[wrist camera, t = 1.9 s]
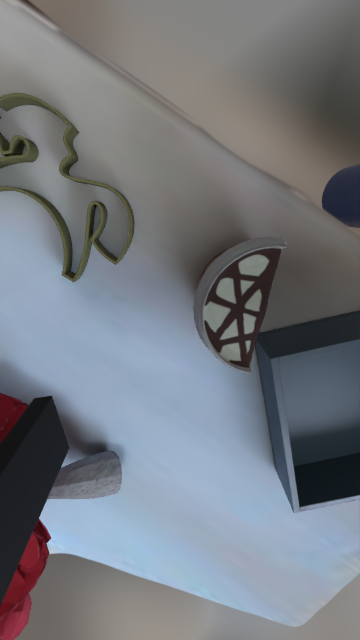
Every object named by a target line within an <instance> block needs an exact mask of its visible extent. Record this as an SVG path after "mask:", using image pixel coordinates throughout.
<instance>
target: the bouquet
mask: <svg viewBox="0 0 360 640" xmlns="http://www.w3.org/2000/svg"><path fill="white" fill-rule="evenodd" d="M27 407H28V405H27V404H26V403H23V402H22V401H21V400H19V399H16V398H13V397H10V396H7V395H4V394H2V393H0V444H1V442H2V441H3V440H4V438H5V437H6V436H7V434H8V433H9V431H10V430H11V429H12V427H13V426H14V425H15V423H16V422H17V421H18V419H19V418H20V417H21V415H22V414H23V413H24V411H25V410H26V409H27ZM121 480H122V472H121V464H120V461H119V458H118V456H117V454H116V453H115V452H114V451H107V452H101V453H97V454H94V455H91V456H88V457H86V458H83V459H81V460H78V461H76V462H74V463H71V464H69V465H67V466H65V467H63V468H60V470H59V473H58V475H57V477H56V480H55V482H54V484H53V487H52V489H51V491H50V493H49V496H48V498H47V499H88V498H98V497H104V496H107V495H111V494H114V493H117V492H118V491H119V489H120V486H121ZM50 539H51V536H50V534H49V532H48V530H47V529H46V527H45V526H44V525H43V523H42V522H41V521H40V519H38V521H37V523H36V526H35V528H34V530H33V533H32V535H31V537H30V540H29V542H28V544H27V546H26V549H25V551H24V553H23V556H22V558H21V560H20V563H19V565H18V567H17V569H16V572H15V574H14V576H13V579H12V581H11V583H10V586H9V588H8V590H7V592H6V595H5V597H4V599H3V602H2V604H1V606H0V640H14V639H15V638H16V637H18V636H19V635H20V633H21V631H22V630H23V629H24V627H25V626H26V624H27V623H28V619H29V614H30V610H31V605H32V602H31V599H30V595H29V592H30V591H31V590H32V589H33V588H34V586H35V585H36V583H37V581H38V579H39V577H40V576H41V574H42V572H43V570H44V568H45V566H46V563H47V559H48V555H49V550H48V547H47V544H46V543H47V542H48V541H49V540H50Z"/></svg>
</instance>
